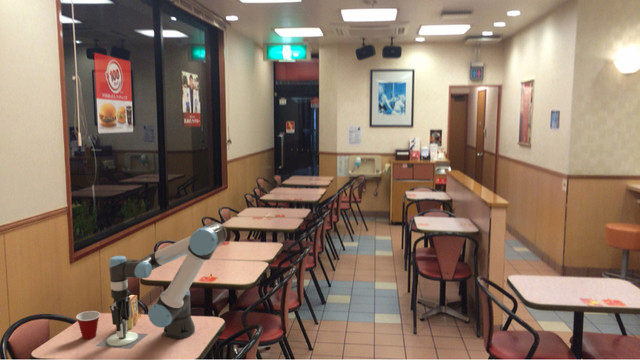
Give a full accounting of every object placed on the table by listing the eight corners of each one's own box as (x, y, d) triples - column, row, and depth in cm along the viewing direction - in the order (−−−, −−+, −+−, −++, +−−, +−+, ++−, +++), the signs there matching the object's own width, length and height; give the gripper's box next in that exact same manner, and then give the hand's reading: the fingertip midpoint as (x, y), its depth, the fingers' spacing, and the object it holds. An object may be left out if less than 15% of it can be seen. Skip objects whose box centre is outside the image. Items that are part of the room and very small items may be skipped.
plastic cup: (92, 343, 237) (90, 319, 236) (72, 341, 240) (70, 318, 238) (106, 334, 248) (105, 311, 246) (87, 332, 250) (85, 309, 249)
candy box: (131, 322, 261) (129, 294, 259) (139, 322, 261) (137, 294, 259) (124, 329, 253) (122, 301, 251) (132, 329, 253) (131, 301, 251)
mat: (148, 335, 246) (148, 334, 246) (130, 350, 231) (130, 348, 231) (115, 332, 249) (115, 331, 249) (95, 347, 234) (95, 345, 234)
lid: (143, 334, 246) (142, 315, 244) (127, 347, 232) (126, 327, 231) (117, 332, 248) (116, 313, 247) (100, 345, 234) (99, 325, 233)
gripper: (121, 282, 245) (124, 327, 248) (102, 293, 229) (105, 341, 232) (135, 283, 244) (138, 328, 247) (116, 294, 228) (119, 343, 231)
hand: (122, 335), depth 240 cm, fingers closed on lid, 3 cm apart
